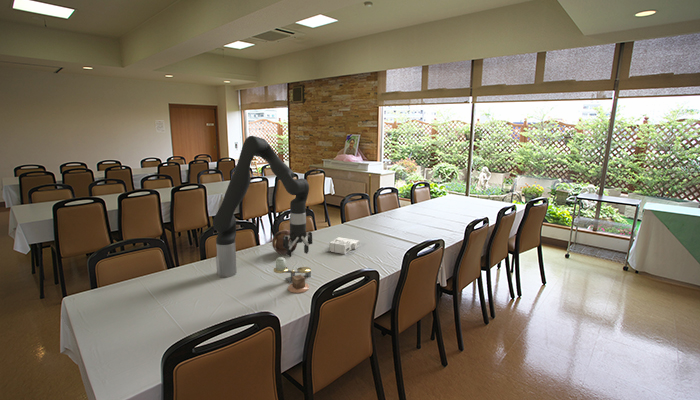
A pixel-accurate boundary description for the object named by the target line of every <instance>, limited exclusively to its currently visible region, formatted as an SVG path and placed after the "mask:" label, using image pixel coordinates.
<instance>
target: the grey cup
mask: <svg viewBox="0 0 700 400" xmlns="http://www.w3.org/2000/svg"><path fill="white" fill-rule="evenodd" d="M286 265H287V263H286V258H285V257H282V256H279V257H277V258H276V259H275V268H276V270H277V271H284V270H286Z"/></svg>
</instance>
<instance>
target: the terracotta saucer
mask: <svg viewBox="0 0 700 400" xmlns="http://www.w3.org/2000/svg"><path fill="white" fill-rule="evenodd" d="M309 289H310V285H309V284H308V283H306V282H305V288H301V289H298V290H296V289H295V288H294V287H293V286H292V283H289V285H288V286H287V290H288V291H289V292H290V293H293V294H303V293H306V292H307V291H309Z"/></svg>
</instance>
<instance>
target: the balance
mask: <svg viewBox="0 0 700 400" xmlns="http://www.w3.org/2000/svg"><path fill="white" fill-rule="evenodd" d="M311 271H312V269H311V267H308V266H300V267H298V268H297V269H290V270H289V268H288V266H287V267H286V270H284V271H277V270H276V267H274V268H273V272H274V273H276V274H284V273H285V274H286V273H287V274H289V273H290V276H287V277H285V278H284V279H285V281H286V282H287V283H289V284H292V277H293V276H296V274H297V273H298V274H304V275H305V277H307V278H311V276H312V272H311Z"/></svg>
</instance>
